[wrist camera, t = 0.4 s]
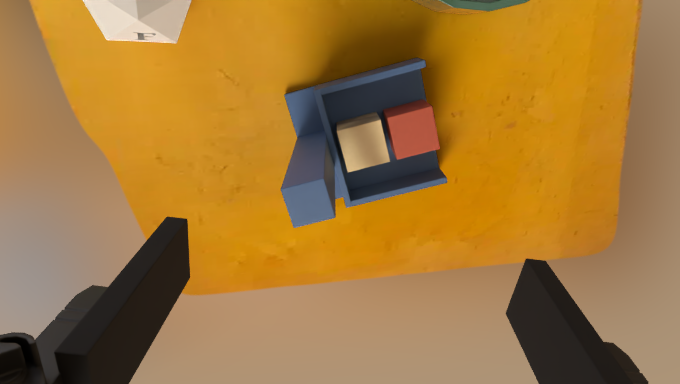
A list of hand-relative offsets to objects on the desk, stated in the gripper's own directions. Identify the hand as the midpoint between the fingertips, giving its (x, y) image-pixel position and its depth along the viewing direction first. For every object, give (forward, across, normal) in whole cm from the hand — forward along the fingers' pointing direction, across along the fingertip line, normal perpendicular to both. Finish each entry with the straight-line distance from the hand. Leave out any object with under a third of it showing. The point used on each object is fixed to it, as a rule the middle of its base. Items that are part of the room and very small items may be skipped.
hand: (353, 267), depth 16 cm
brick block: (+26, +5, -1) cm, 27 cm away
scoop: (+27, +1, -3) cm, 27 cm away
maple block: (+26, +1, -3) cm, 26 cm away
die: (+27, -19, +8) cm, 34 cm away
